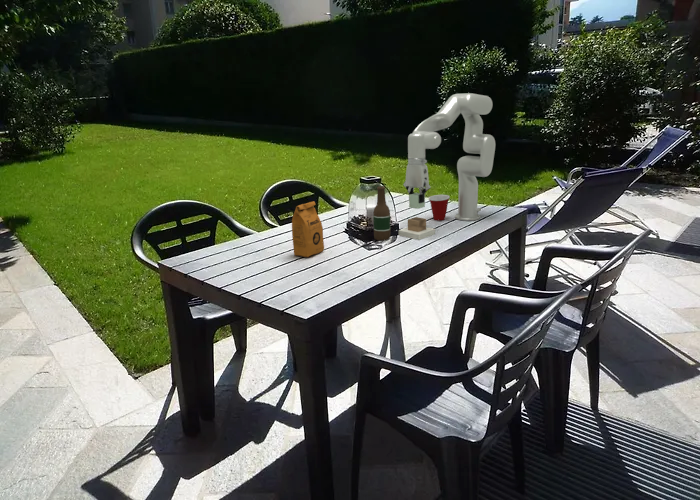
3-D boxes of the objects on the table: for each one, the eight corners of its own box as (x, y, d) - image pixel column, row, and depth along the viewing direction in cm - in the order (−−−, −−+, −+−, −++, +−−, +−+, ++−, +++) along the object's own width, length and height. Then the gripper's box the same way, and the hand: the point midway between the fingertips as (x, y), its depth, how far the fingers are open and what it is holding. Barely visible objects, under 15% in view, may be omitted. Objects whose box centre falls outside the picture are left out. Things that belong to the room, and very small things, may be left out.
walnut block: (415, 227, 239) (415, 216, 238) (426, 229, 235) (426, 218, 234) (407, 230, 235) (407, 219, 234) (418, 232, 231) (417, 221, 230)
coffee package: (328, 252, 217) (325, 201, 210) (307, 259, 208) (303, 207, 202) (311, 248, 223) (308, 199, 217) (290, 255, 214) (286, 204, 208)
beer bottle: (384, 241, 228) (383, 188, 221) (370, 239, 232) (368, 187, 225) (394, 237, 234) (393, 185, 226) (380, 235, 238) (378, 184, 231)
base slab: (415, 230, 244) (415, 225, 243) (435, 234, 236) (435, 228, 235) (398, 235, 236) (398, 230, 235) (419, 240, 228) (419, 234, 227)
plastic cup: (424, 218, 264) (424, 196, 260) (441, 215, 268) (441, 193, 264) (435, 223, 254) (436, 199, 251) (453, 220, 259) (454, 197, 255)
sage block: (416, 205, 235) (416, 192, 234) (424, 206, 232) (424, 193, 230) (409, 207, 232) (409, 194, 230) (417, 208, 229) (417, 195, 227)
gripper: (437, 162, 222) (436, 202, 228) (407, 159, 234) (407, 198, 239) (426, 164, 217) (426, 205, 223) (396, 161, 229) (397, 201, 235)
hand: (416, 201), depth 231 cm, fingers closed on sage block, 4 cm apart
